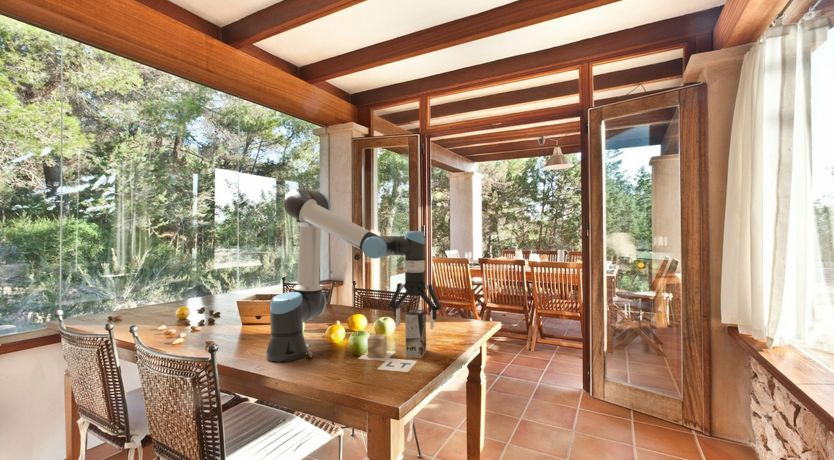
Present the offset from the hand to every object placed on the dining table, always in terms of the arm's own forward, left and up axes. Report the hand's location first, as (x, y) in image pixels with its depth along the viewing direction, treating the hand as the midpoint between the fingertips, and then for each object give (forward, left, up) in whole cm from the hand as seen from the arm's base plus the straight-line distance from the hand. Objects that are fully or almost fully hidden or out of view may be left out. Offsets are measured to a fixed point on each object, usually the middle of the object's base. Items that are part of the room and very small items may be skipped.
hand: (414, 326), depth 142 cm
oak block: (-14, -5, -10) cm, 18 cm away
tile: (-3, -13, -10) cm, 17 cm away
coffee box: (0, 0, -11) cm, 11 cm away
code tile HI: (-14, -5, -10) cm, 18 cm away
